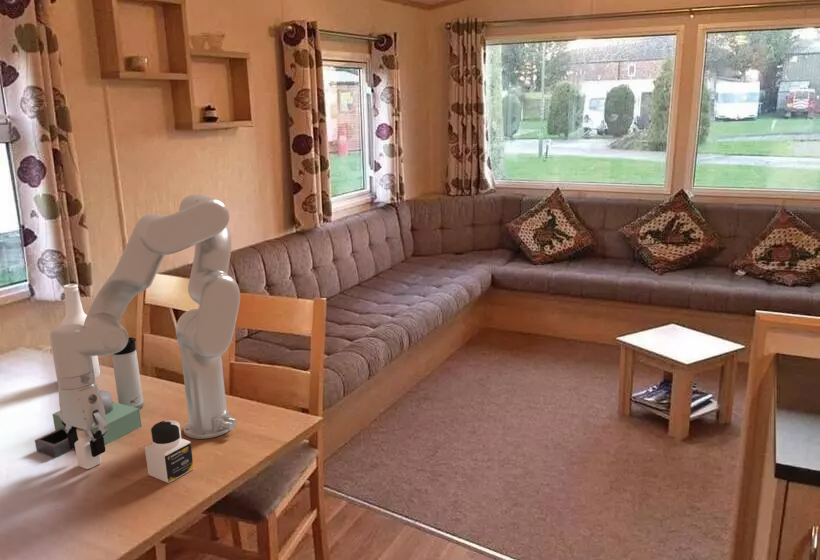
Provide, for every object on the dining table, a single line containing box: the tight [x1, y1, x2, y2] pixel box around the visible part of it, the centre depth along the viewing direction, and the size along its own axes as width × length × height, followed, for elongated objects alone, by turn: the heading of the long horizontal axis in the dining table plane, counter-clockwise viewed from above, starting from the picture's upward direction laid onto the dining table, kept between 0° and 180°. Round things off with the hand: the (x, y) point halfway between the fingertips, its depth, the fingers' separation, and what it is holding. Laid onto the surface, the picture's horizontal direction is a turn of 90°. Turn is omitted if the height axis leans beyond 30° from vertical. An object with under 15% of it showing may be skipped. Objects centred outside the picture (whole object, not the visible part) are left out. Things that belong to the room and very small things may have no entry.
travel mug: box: [111, 337, 144, 410], centre depth 181 cm, size 6×7×20 cm
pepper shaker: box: [74, 426, 102, 470], centre depth 153 cm, size 4×4×10 cm
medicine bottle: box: [144, 419, 194, 484], centre depth 148 cm, size 7×7×12 cm
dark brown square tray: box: [34, 428, 73, 459], centre depth 161 cm, size 7×7×3 cm
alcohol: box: [60, 283, 101, 380], centre depth 201 cm, size 9×9×30 cm
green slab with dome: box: [52, 390, 143, 446], centre depth 170 cm, size 18×12×9 cm, turn 62°
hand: (87, 449), depth 153 cm, fingers open, 7 cm apart
